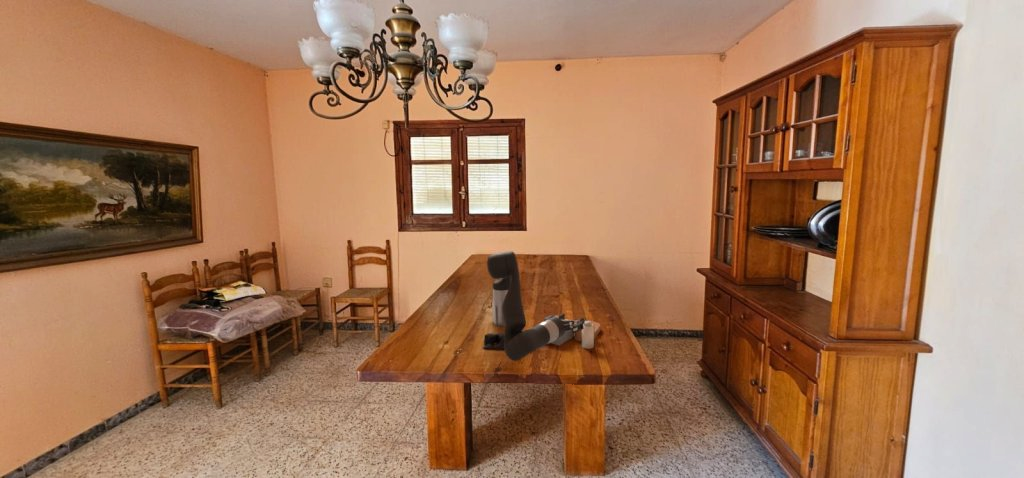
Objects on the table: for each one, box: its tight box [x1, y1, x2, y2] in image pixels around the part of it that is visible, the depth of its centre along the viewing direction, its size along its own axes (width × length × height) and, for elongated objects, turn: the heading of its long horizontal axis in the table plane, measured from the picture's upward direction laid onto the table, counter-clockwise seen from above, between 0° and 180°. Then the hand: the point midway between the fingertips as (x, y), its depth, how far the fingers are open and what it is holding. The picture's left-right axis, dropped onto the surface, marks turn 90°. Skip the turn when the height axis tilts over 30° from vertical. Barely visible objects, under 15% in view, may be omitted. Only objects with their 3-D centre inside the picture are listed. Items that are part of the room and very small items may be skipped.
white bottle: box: [581, 320, 595, 349], centre depth 161 cm, size 5×5×10 cm
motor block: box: [550, 318, 575, 346], centre depth 172 cm, size 15×10×8 cm, turn 140°
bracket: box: [574, 319, 601, 343], centre depth 174 cm, size 18×8×7 cm, turn 153°
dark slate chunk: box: [482, 332, 505, 351], centre depth 166 cm, size 15×22×5 cm
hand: (573, 318), depth 151 cm, fingers open, 8 cm apart
